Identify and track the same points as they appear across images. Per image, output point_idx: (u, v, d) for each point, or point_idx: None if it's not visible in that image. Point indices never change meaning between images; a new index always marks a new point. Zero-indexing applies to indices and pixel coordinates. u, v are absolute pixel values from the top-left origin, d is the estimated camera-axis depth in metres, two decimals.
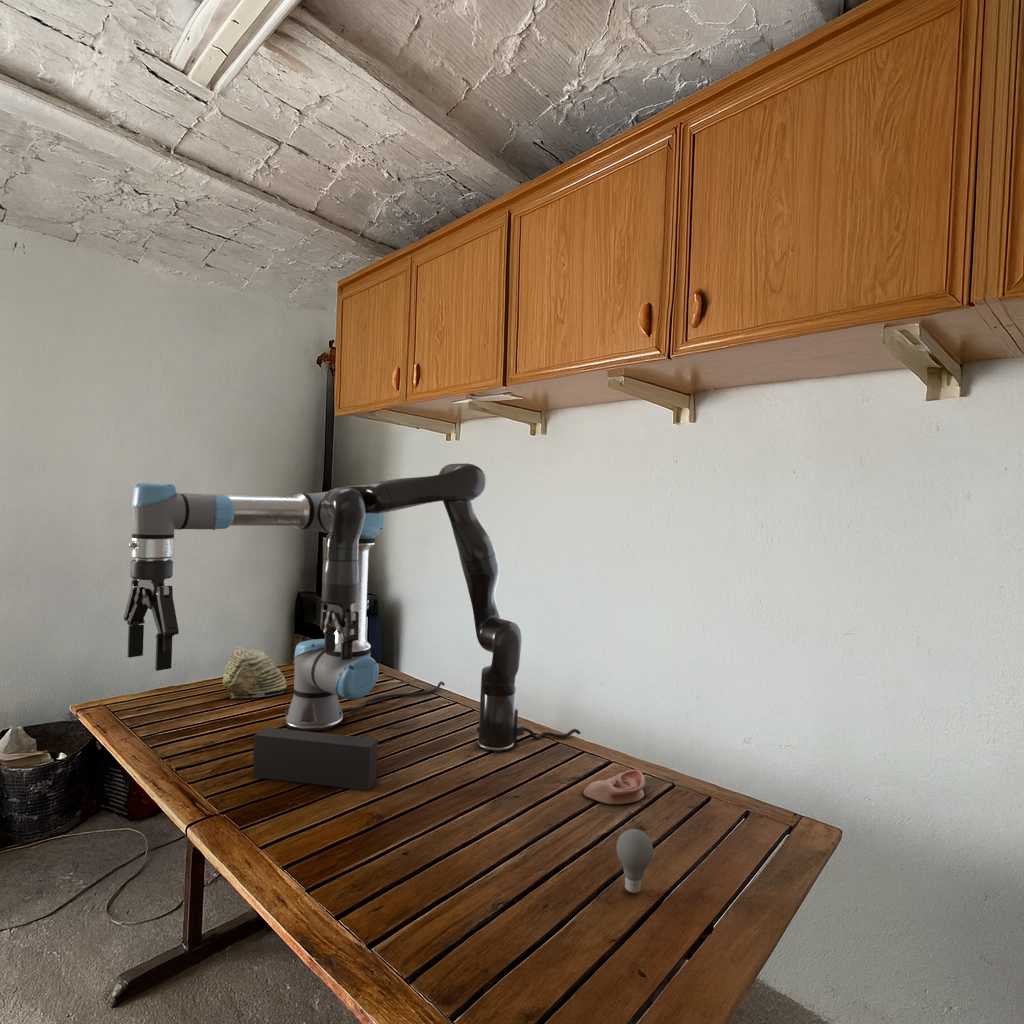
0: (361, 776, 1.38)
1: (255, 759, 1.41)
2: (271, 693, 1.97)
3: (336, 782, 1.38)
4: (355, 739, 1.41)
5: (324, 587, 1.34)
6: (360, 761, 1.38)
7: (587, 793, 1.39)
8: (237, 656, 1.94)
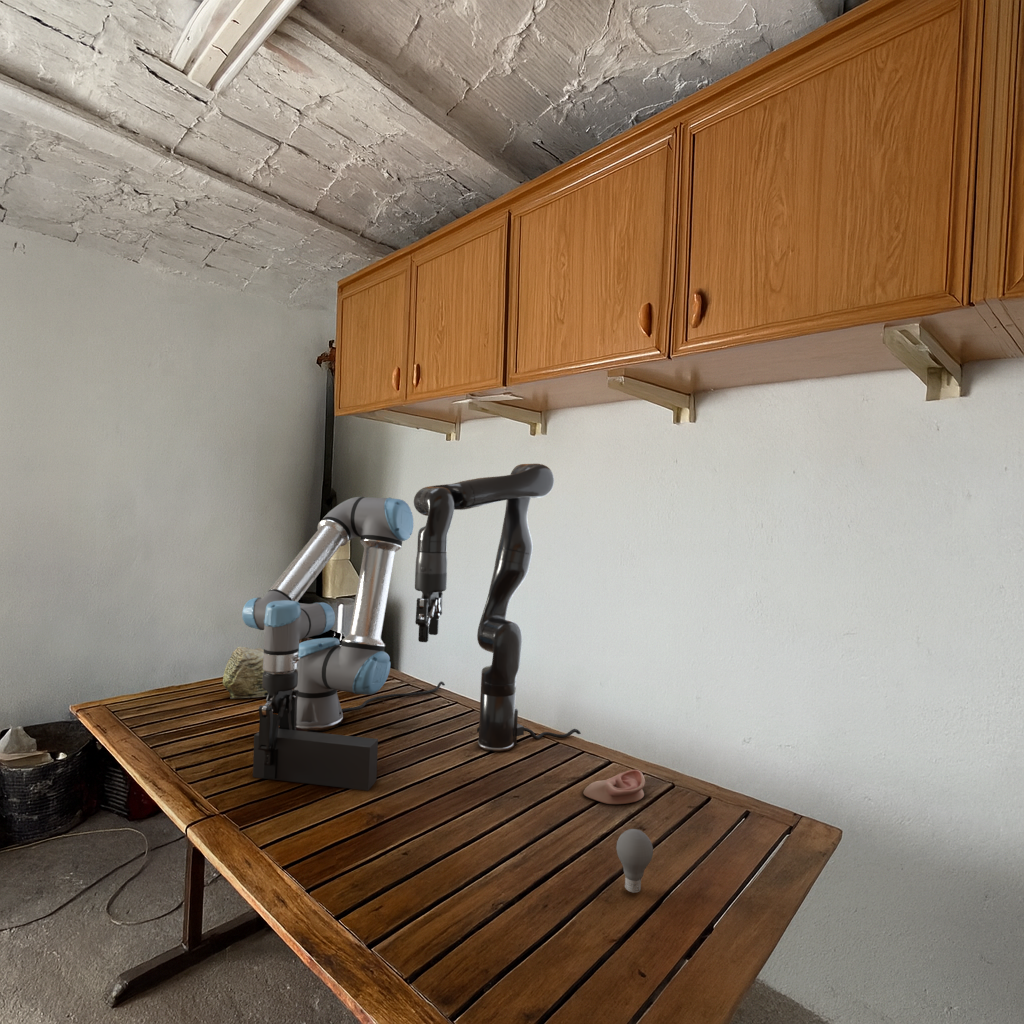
0: (361, 776, 1.38)
1: (255, 759, 1.41)
2: None
3: (336, 782, 1.38)
4: (355, 739, 1.41)
5: None
6: (360, 761, 1.38)
7: (587, 793, 1.39)
8: (237, 656, 1.94)
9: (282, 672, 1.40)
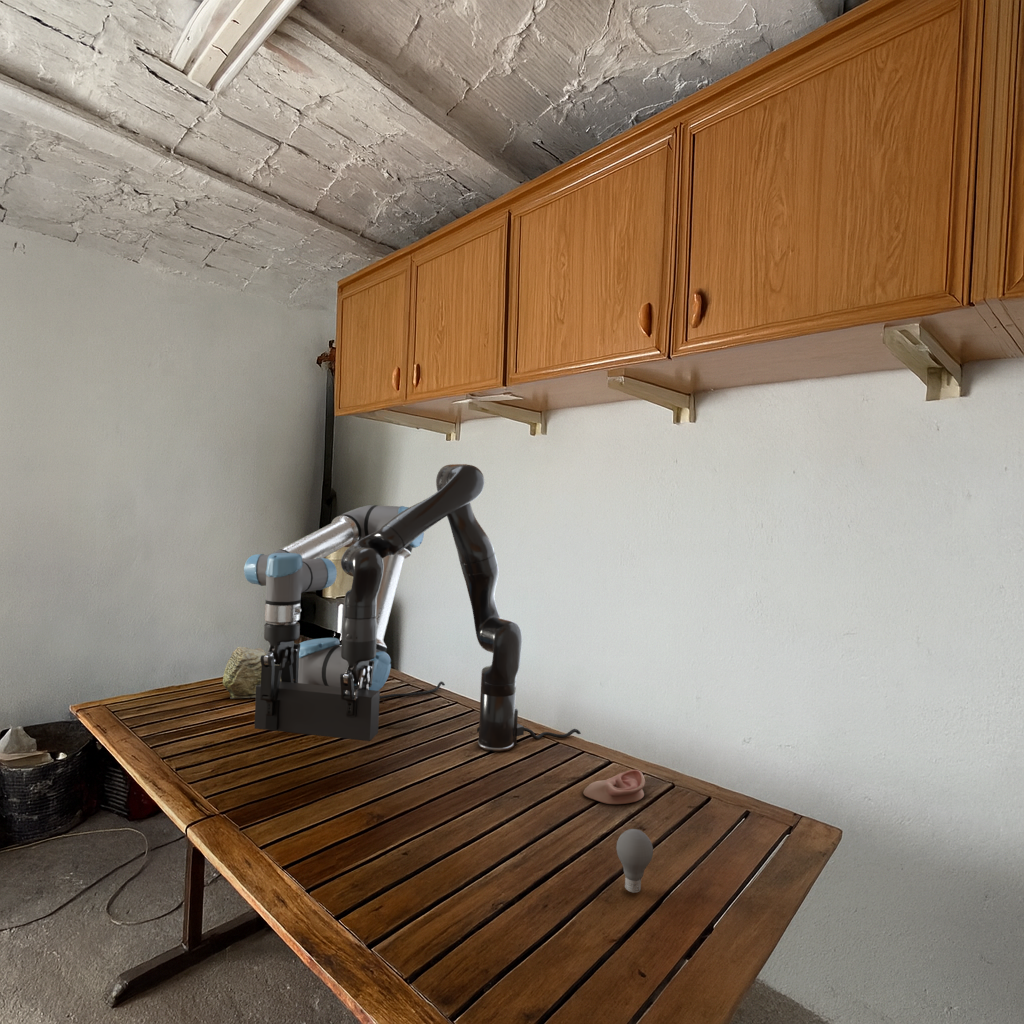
0: (363, 727, 1.37)
1: (257, 710, 1.41)
2: None
3: (338, 733, 1.38)
4: None
5: None
6: (362, 712, 1.37)
7: (587, 793, 1.39)
8: (237, 656, 1.94)
9: (284, 623, 1.40)
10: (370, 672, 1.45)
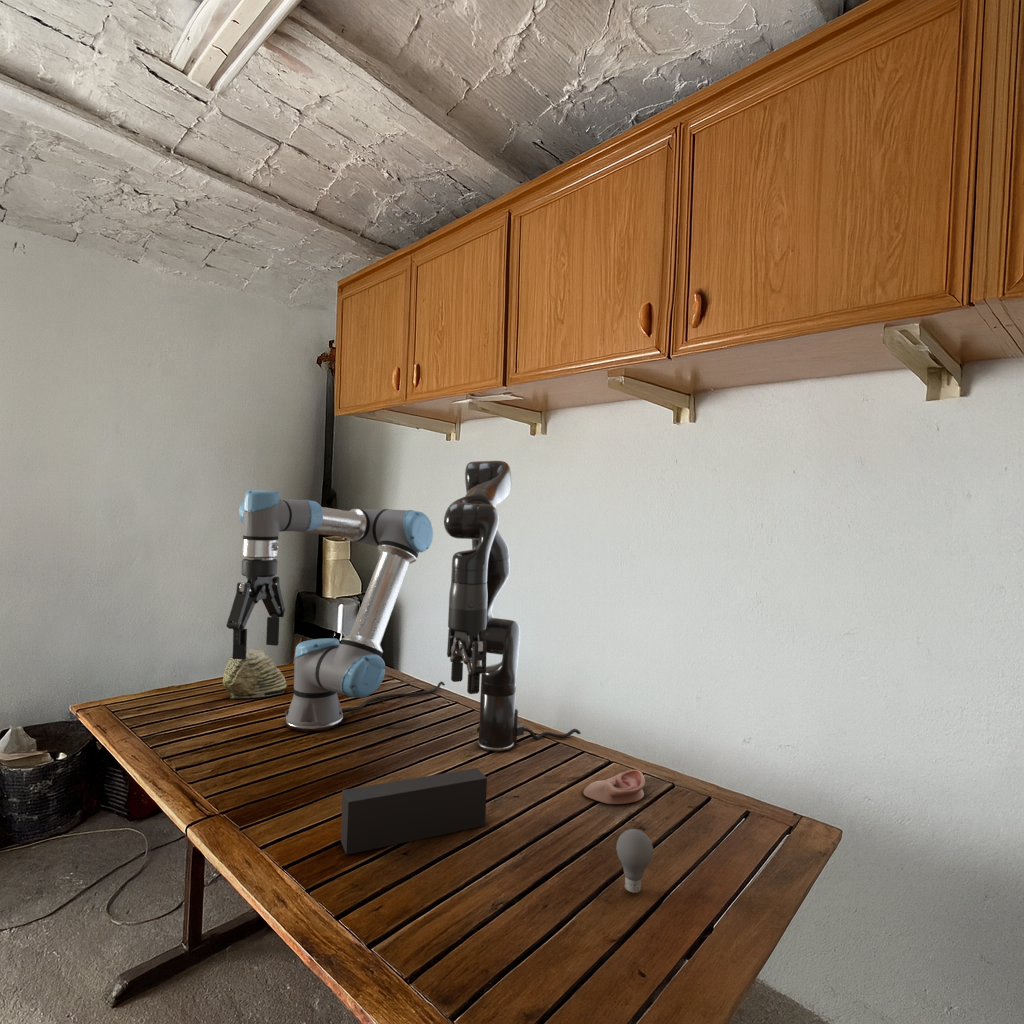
0: (478, 812, 1.24)
1: (350, 831, 1.13)
2: (271, 693, 1.97)
3: (451, 828, 1.22)
4: (459, 774, 1.26)
5: (450, 612, 1.22)
6: (477, 796, 1.24)
7: (587, 793, 1.39)
8: None
9: (261, 558, 1.40)
10: None
